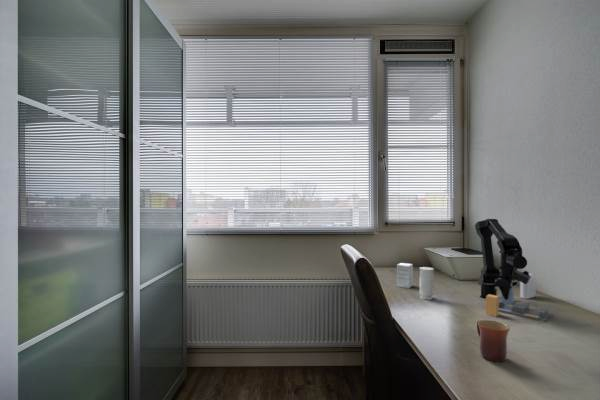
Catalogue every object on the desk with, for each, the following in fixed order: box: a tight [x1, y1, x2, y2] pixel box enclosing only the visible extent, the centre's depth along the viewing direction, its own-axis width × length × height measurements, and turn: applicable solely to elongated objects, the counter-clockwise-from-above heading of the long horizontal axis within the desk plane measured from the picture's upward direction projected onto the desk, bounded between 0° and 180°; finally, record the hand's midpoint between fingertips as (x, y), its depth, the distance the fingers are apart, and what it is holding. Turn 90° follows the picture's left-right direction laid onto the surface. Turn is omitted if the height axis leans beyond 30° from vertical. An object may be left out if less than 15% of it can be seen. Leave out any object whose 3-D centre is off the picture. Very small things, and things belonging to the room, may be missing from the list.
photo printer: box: [519, 272, 537, 300], centre depth 174 cm, size 10×4×12 cm, turn 123°
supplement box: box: [396, 262, 414, 289], centre depth 194 cm, size 7×7×13 cm
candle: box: [418, 266, 435, 301], centre depth 171 cm, size 7×7×15 cm
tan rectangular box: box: [485, 294, 500, 317], centre depth 147 cm, size 4×4×8 cm
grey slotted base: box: [499, 298, 551, 322], centre depth 150 cm, size 20×12×3 cm, turn 45°
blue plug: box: [500, 285, 515, 305], centre depth 153 cm, size 4×4×8 cm
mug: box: [476, 319, 510, 362], centre depth 108 cm, size 12×9×10 cm
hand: (507, 298), depth 153 cm, fingers closed on blue plug, 4 cm apart
